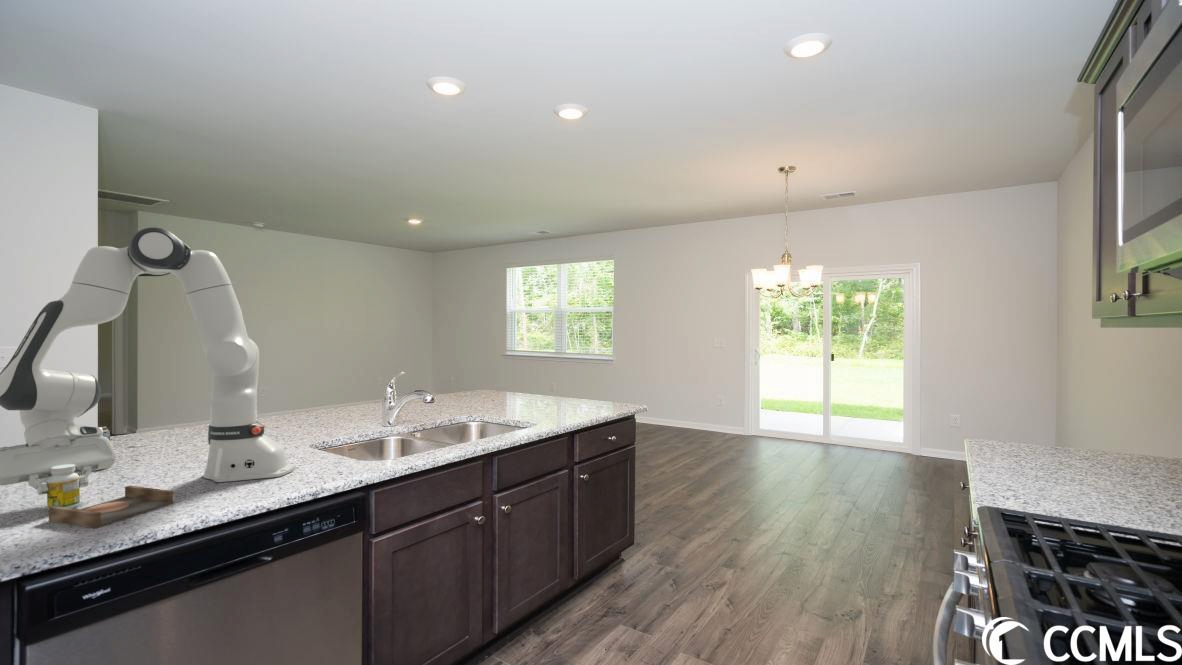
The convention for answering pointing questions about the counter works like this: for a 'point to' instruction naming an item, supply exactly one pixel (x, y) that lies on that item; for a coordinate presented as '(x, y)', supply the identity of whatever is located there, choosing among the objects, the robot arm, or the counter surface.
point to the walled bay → (114, 508)
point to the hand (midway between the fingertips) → (64, 489)
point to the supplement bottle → (63, 487)
